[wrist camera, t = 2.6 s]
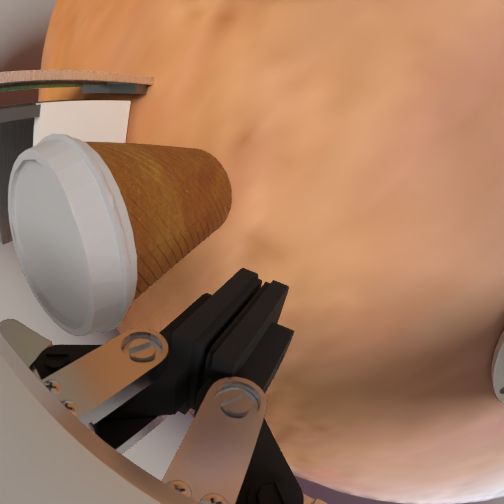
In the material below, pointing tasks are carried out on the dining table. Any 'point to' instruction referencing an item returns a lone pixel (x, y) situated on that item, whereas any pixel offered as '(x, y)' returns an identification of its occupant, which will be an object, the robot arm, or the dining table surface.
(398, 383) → the dining table surface
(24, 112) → the pale grey flat panel
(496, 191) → the dining table surface
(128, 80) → the gauge frame
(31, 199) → the disposable coffee cup
